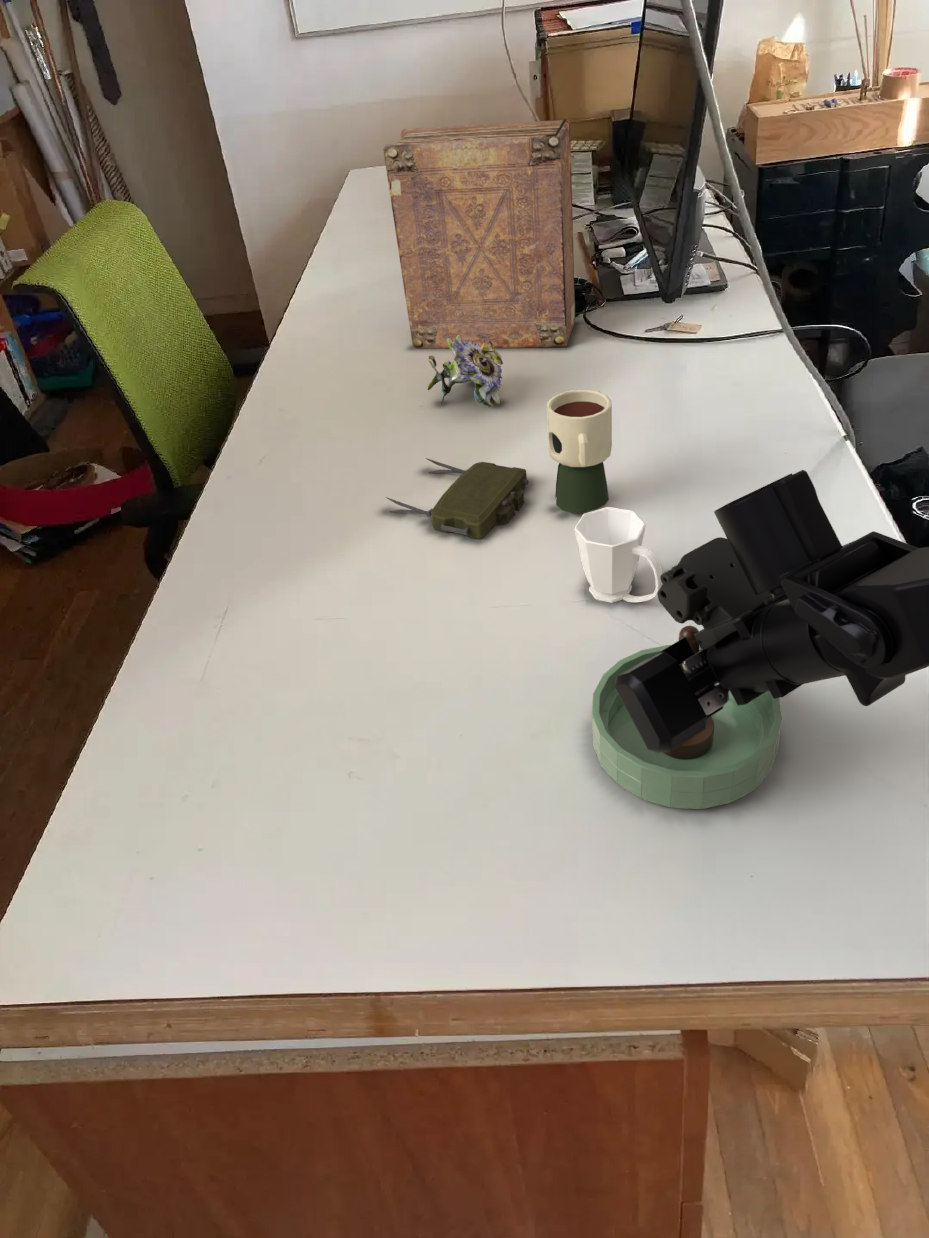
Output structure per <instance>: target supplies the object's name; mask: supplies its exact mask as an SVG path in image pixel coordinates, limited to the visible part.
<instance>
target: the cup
mask: <svg viewBox="0 0 929 1238" xmlns="http://www.w3.org/2000/svg"><path fill="white" fill-rule="evenodd" d="M646 527H647V524H646V523H645V521H644V520H642V518H641V517H640V516H639V515H638V514H637V513H636V512H635V511H634V510H631V509H624V508H618V507H612V506H606V507H605V506H604V507H601V508H598V509H596V510H591V511H587V512H584V513H583V514H582V515H581V517H580V519H579V520H578V522H577V523H576V525H575V527H574V533H575V539H576V542H577V547H578V551H579V557H580V561H581V566H582V568H583V572H584V574H585V578H586V580H587V583H588V584H589V587H588V591H589V593H590V594H591V596H593V598H594V599H595V600H596V601H599V602H606V603H610V604H614V603H615V602H620V601H622V600H623V601H625V602H627V603H641V602H642V603H643V602H647V601H650V600H652V599H653V598H655V597H657V596H658V595H657V594H658V591H659V589H660V587H661V586H662V584H663V583H662V582H661V579H660V576H661V575H662V574H663V571H662V566H661V564H660V562H659V560H658V558H657V556H656V555H655V554H654V553H653V552H652V551H651V550H650V549H648V548H646V547H645V546H643V541H644V536H645V532H646ZM640 557H643V558H644V559H646V560H647V561H648V563H649V566H651V568H652V570H653V575H654V581H655V589H654V591H653V593H649V594H646V595H645V594H644V595H632V594H630V593H631V591H632V589H633V586H632V582H633V580H634V577H635V574H636V572H637V568H638V565H639V561H640Z"/></svg>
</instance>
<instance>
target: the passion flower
mask: <svg viewBox="0 0 929 1238" xmlns="http://www.w3.org/2000/svg"><path fill="white" fill-rule="evenodd" d="M455 341H456V343H455V342H452V341H451V339H450V338H446V342H447V344H448V346H449V348H448V349H450V351H451V352H452V354H453V356H454V357H453V362H452V361H450V360H447V361H443V362H442V368H443V369H442V371H438V369H437V368H436V367H437V361H436V359H435V356H434V355H433V354H432V355H429V356H428V363H430V366H431V367H432V369H433V370H434V371H435V375H434V377H433V378H432V379H431V381H430V382H429V383H428V385H427V390H428V391H430V390H431V389H432V388H433V387H434V386H435V385H436V384H438V383H439V382H441V391H440V404H441V405H442V404H443V402H444V400H445V397H446V396H447V395H448V394H450V393H451V392H452V388H453V386H455V384H465V383H467V382H471V383H472V384H473V385H474V391H473V398H474V400H475V401H476V402H478V403H479V404H482V405H484V406H486V407H488V408H491V407H492V405H495V406H496V405H497V406H498V405H500V403H501V401H500V396H499V393H498V391H499V390H500V389H501V386H502V385H503V382H502V380H501V379H503V376H502V373H503V372H502V371H503V369H502V365H504V362H503V360H502V356H501V355H500V353H499V352H498V351H496V350H495V349H496V348H494V347H493V345H492V342H491V341H488V345H486V344H485V343H483V344H482V346H480V345H479V344H478V343H477V344H473V342H472V340H471V341H469V343H468V342H466V341H465V342H463V341H462V340H461V339H460V335H458V336H457V337H456V340H455ZM445 379H448V382H447V383H446V381H445Z"/></svg>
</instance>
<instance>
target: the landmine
mask: <svg viewBox="0 0 929 1238" xmlns="http://www.w3.org/2000/svg"><path fill="white" fill-rule="evenodd" d="M425 460H427V461H429V462H431V463H433V464H435V465H436V466H439V467H442V468H444V469H436V470H432V471H431V470H430V471H429V472H428V473H429V474H432V473H434V474H459V476H458V477H457V479H456V480H455V481H454V482H453V483H452V484H451V485H450V486H449V487H448V488H447V489H446V491H444V492H443V494H442V495H441V497H440V498H439V499H438V501H437V502H436V504H435V505H434V507H433V508H430V509H428V510H423V509H421V508H418V507H416V506H413V505H411V504H407V503H404V502H401V501H398V500H396V499H393V498H390V497H388V496H386V497H385V498H386V500H389V501H390V502H392V503H394V504H396V505H398V506H400V507H403V508H405V509H401V508H400V509H399V508H398V509H395V510H389V513H399V514H414V515H415V514H416V515H424V516H426V517H428V518H430V517H431V524H432V528H433V530H436V531H439V532H443V533H455V534H459V535H464V536H467V537H469V538H473V539H477V540H480V539H482V538H483V537H484V536H486V534H487V533H489V531H490V530H491V529H492V528H493V526H495V524H497V525H498V524H499V525H505V524H508V523H509V522H510V521H511V520H512V518H513V517H515V516H516V511H517V512H519V511H520V509H521V507H522V506H523V505H524V504H525V496H524V489H525V488H526V487H527V486H528V485H529V479H528V477H527V476H528V475H527V469H525V468H522V467H521V468H520V467H515V466H513V467H509V466H504V465H498V464H496V463H493V462H487V461H480V462H479V461H478V462H476V463H474V464H472V465H471V466H470V467H469V468H467V469H466V470H465V469H460V468H459V467H455V466H452V465H448V464H445V463H442V462H439V461H436V460H433V459H430V458H427V457H425ZM460 474H461V475H460Z"/></svg>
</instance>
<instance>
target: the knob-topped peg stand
mask: <svg viewBox="0 0 929 1238" xmlns="http://www.w3.org/2000/svg"><path fill="white" fill-rule="evenodd" d="M699 631H700V630H699V629H698V628H697V627H696V626H694V625H685V626H683V627H682V628H681V629H680V630H679V634H678V641H679V640H681V639H683V638H684V637H686V638H687V640H688V642H689V644H690V646H691V648H692V650H693V652H694V653H695V654H696V653H698V652H699V644H698V642H697V640H696V638H695V636H694V634H695V633H697V632H699ZM713 736H714V721H713V719H712V717H711V716H710V717H709V718H707V722H706V729H705V730H703V731H702V732H700V733H699V734H697V735H695V736H694V737H692V738H691V739H689V740H688V741H686V742H685V743H683V744H681V745H680V746H678V747H677V748H675V749H674V750H672V751H668V752H663V753H664V754H666V755H668V756H670V757H673V758H676V759H684V760H687V759H694V758H698V757H700V756H702V755H704V754H705V753H707V752H708V751H709V749H710V748H711V746H712V744H713Z"/></svg>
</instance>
